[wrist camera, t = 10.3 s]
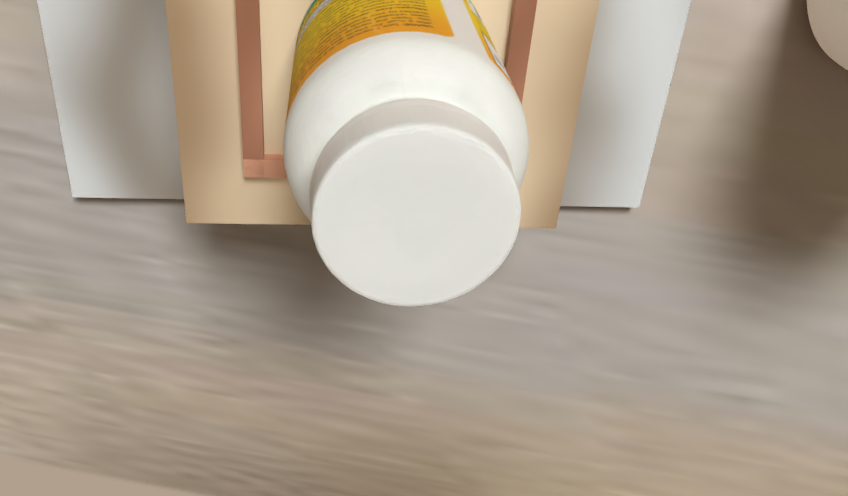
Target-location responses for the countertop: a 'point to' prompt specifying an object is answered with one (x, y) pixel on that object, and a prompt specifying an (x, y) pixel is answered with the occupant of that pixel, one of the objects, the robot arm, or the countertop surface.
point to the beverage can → (830, 27)
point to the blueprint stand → (270, 85)
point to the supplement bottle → (405, 147)
